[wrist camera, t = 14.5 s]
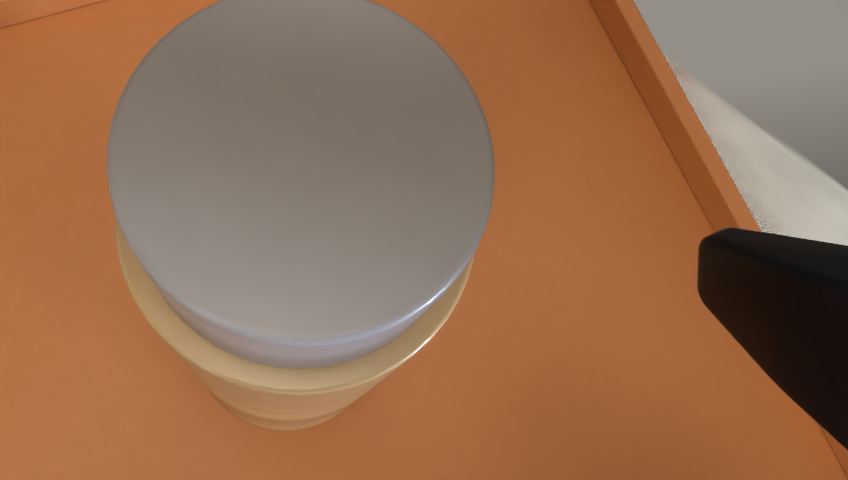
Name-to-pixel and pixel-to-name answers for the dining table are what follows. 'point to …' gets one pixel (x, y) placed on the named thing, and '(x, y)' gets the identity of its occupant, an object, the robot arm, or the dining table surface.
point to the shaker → (297, 199)
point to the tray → (471, 318)
